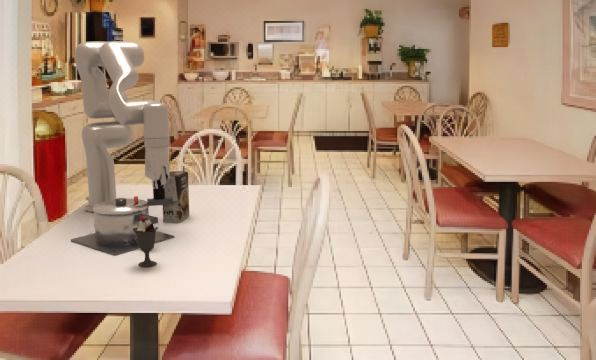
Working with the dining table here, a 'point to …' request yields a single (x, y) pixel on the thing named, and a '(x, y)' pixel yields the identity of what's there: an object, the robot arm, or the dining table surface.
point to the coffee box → (177, 197)
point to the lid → (128, 205)
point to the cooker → (117, 233)
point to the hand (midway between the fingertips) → (159, 200)
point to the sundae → (146, 239)
